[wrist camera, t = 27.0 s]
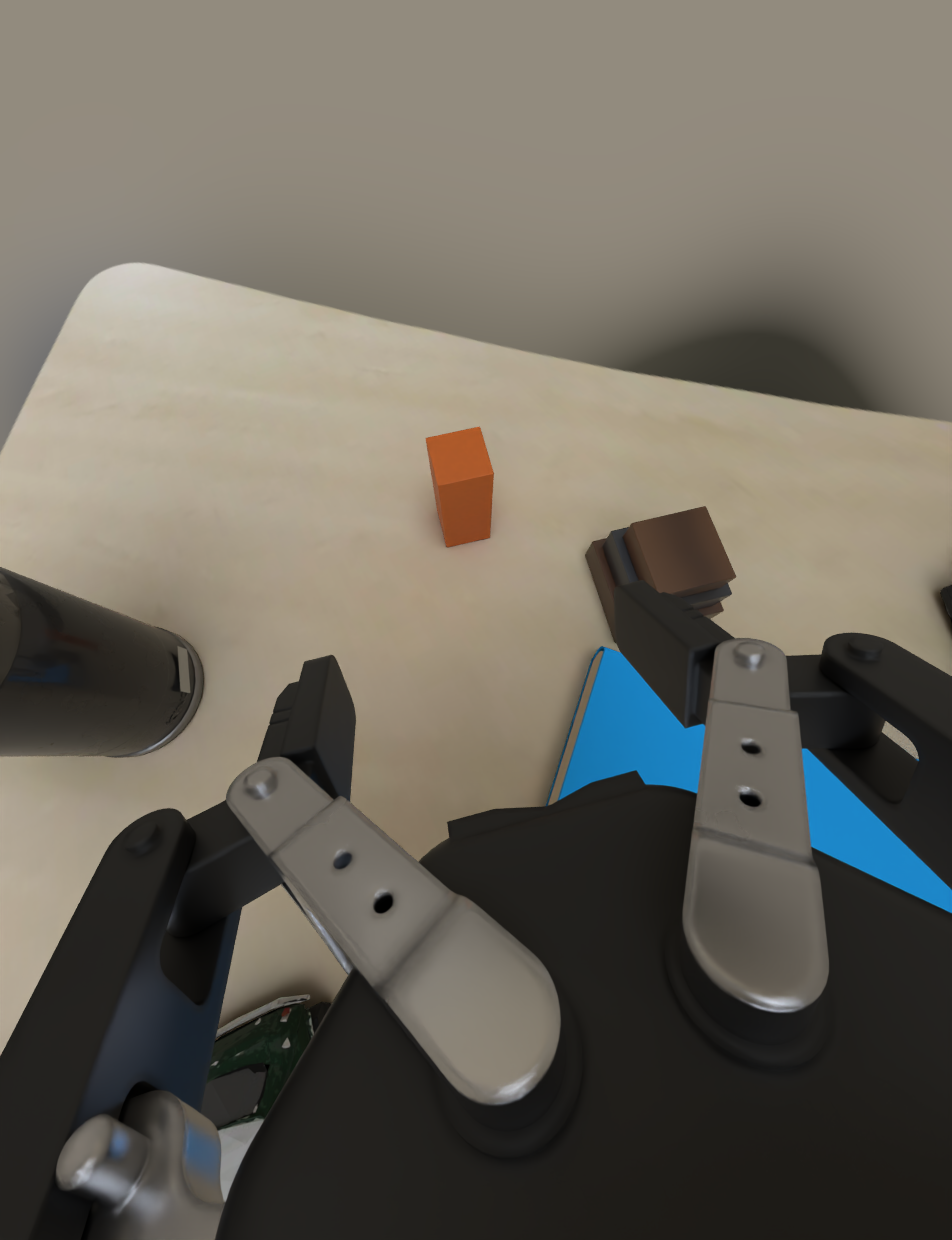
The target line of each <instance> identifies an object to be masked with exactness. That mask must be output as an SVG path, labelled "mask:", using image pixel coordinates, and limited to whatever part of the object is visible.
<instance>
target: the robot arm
mask: <svg viewBox="0 0 952 1240" xmlns="http://www.w3.org/2000/svg"><path fill="white" fill-rule="evenodd" d="M614 624H615V638H616V642H617V645H618V648H619V650H620V652H621V653H622V654H623V656H624V657H625V658H626V659H627V660H628V662H629V663H630V664H631V665H632V666H633V667H634V669H635V670H636V671H637V672H638V673H639V675H640V676H641V677H642V678H643V679H644V680H645V682H646V683H647V684H648V685H649V686H650V687H651V689H652V690H653V691H654V692H655V693H656V695H657V696H658V697H659V698H660V699H661V700H662V702H663V703H664V704H665V705H666V706H667V708H668V709H669V710H670V711H671V712H672V713H673V715H674V716H675V717H676V718H677V719H678V721H679V722H680V723H681V724H682V725H683V726H684V728H689V727H693V726H696V725H700V724H704V725H705V734H704V742H703V750H702V758H701V767H700V775H699V783H698V791H697V793H695V792H692V791H689V790H685V789H681V788H677V787H672V786H666V785H654V784H645V783H644V781H643V780H642V778H641V777H640V775H639V773H638V772H637V770H635V771H631V772H627V773H624V774H620V775H617V776H613V777H609V778H606V779H602V780H598V781H595V782H591V783H589V784H587V785H586V786H584V787H582V788H580V789H578V790H576V791H575V792H573V793H571V794H569V795H567V796H566V797H564V798H562V799H560V800H558V801H557V802H555V803H553V804H551V805H549V806H544V807H527V808H504V809H493V810H489V811H485V812H482V813H478V814H474V815H471V816H467V817H463V818H460V819H456V820H452V821H449V822H447V824H448V831H449V838H448V839H447V840H445V841H443V842H441V843H440V844H439V845H437V846H436V847H434V848H433V849H431V850H430V851H429V852H428V853H427V854H426V855H425V856H423V857H422V858H421V859H420V860H419V862H417V861H416V860H415V859H414V858H413V857H412V856H411V855H409V854H408V853H407V852H406V851H405V850H404V849H403V848H401V847H400V846H399V845H398V844H397V843H396V842H395V841H394V840H392V839H391V838H390V837H389V836H388V835H387V834H386V833H384V832H383V831H382V830H381V829H380V828H379V827H378V826H376V825H375V824H374V823H373V822H372V821H371V820H370V819H368V818H367V817H366V816H365V815H364V814H363V813H362V812H360V811H359V810H358V809H357V808H356V807H355V806H354V805H353V804H351V803H350V793H351V779H352V766H353V752H354V739H355V725H356V715H355V708H354V704H353V701H352V698H351V695H350V693H349V690H348V688H347V685H346V683H345V680H344V677H343V675H342V672H341V670H340V667H339V665H338V662H337V660H336V658H335V657H334V656H333V655H329V656H325V657H321V658H317V659H313V660H309V661H305V662H304V664H303V668H302V672H301V675H300V679H299V682H294V683H290V684H288V686H287V687H286V688H285V689H284V690H283V692H282V693H281V694H280V695H279V696H278V698H277V700H276V704H275V707H274V710H273V714H272V716H271V719H270V722H269V723H270V725H269V726H268V729H267V732H266V735H265V738H264V741H263V744H262V747H261V751H260V754H259V757H258V760H257V763H255V764H253V765H251V766H250V767H248V768H247V769H245V770H244V771H243V772H242V773H241V774H239V775H238V776H237V777H236V779H235V780H234V781H233V782H232V784H231V785H230V787H229V789H228V791H227V794H226V800H225V801H223V802H221V803H220V804H218V805H216V806H214V807H212V808H210V809H208V810H206V811H204V812H202V813H200V814H198V815H196V816H194V817H192V818H190V819H188V820H186V819H185V818H184V816H183V815H182V814H181V812H179V811H178V810H176V809H170V808H167V809H161V810H157V811H154V812H151V813H149V814H147V815H145V816H143V817H141V818H139V819H137V820H136V821H135V822H133V823H132V824H130V825H129V826H128V827H126V828H125V829H124V830H123V831H122V832H121V833H120V834H119V835H118V836H117V837H116V838H115V839H114V840H113V841H112V843H111V844H110V845H109V847H108V849H107V850H106V852H105V854H104V856H103V858H102V860H101V862H100V864H99V866H98V867H97V869H96V871H95V873H94V875H93V877H92V879H91V881H90V883H89V885H88V887H87V889H86V891H85V893H84V895H83V897H82V899H81V901H80V903H79V904H78V906H77V908H76V910H75V912H74V914H73V916H72V918H71V920H70V922H69V924H68V926H67V928H66V930H65V932H64V934H63V936H62V938H61V939H60V941H59V943H58V945H57V947H56V949H55V951H54V953H53V955H52V957H51V959H50V961H49V963H48V965H47V967H46V969H45V971H44V973H43V975H42V976H41V978H40V980H39V982H38V984H37V986H36V988H35V990H34V992H33V994H32V996H31V998H30V1000H29V1002H28V1004H27V1006H26V1008H25V1010H24V1011H23V1013H22V1015H21V1017H20V1019H19V1021H18V1023H17V1025H16V1027H15V1029H14V1031H13V1033H12V1035H11V1037H10V1039H9V1041H8V1043H7V1045H6V1047H5V1048H4V1050H3V1052H2V1054H1V1056H0V1240H952V913H951V912H948V911H946V910H944V909H942V908H940V907H938V906H936V905H934V904H931V903H929V902H927V901H925V900H923V899H921V898H919V897H917V896H915V895H912V894H910V893H908V892H906V891H904V890H902V889H900V888H898V887H895V886H893V885H891V884H889V883H887V882H885V881H883V880H881V879H879V878H876V877H874V876H872V875H870V874H868V873H866V872H864V871H862V870H860V869H857V868H855V867H853V866H851V865H849V864H847V863H845V862H843V861H840V860H838V859H836V858H834V857H832V856H830V855H828V854H826V853H824V852H821V851H819V850H817V849H815V848H813V847H811V841H810V830H809V820H808V809H807V799H806V789H805V778H804V768H803V758H802V749H808V750H809V751H810V752H811V753H812V754H813V755H814V756H815V757H816V758H817V759H818V760H819V761H820V762H821V763H822V764H823V765H824V766H825V767H826V768H827V769H828V770H829V771H830V772H831V773H833V774H834V775H835V776H836V777H837V778H838V779H839V780H840V781H841V782H842V783H843V784H844V785H845V786H846V787H847V788H848V789H849V790H850V791H851V792H852V793H853V794H854V795H855V796H856V797H857V798H858V799H859V800H860V801H861V802H862V803H863V804H864V805H865V806H866V807H867V808H868V809H869V810H870V811H871V812H872V813H873V814H874V815H875V816H877V817H878V818H879V819H880V820H881V821H882V822H883V823H884V824H885V825H886V826H887V827H888V828H889V829H890V830H891V831H892V832H893V833H894V834H895V835H896V836H897V837H898V838H899V839H900V840H901V841H902V842H903V843H904V844H905V845H906V846H907V847H908V848H909V849H910V850H911V851H912V852H913V853H914V854H915V855H916V856H917V857H918V858H920V859H921V860H922V861H923V862H924V863H925V864H926V865H927V866H928V867H929V868H930V869H931V870H932V871H933V872H934V873H935V874H936V875H937V876H938V877H939V878H940V879H941V880H942V881H943V882H944V883H945V884H946V885H947V886H948V887H949V888H950V889H951V890H952V676H950V675H948V674H947V673H945V672H943V671H941V670H940V669H938V668H936V667H934V666H933V665H931V664H929V663H928V662H926V661H924V660H922V659H921V658H919V657H917V656H916V655H914V654H912V653H910V652H909V651H907V650H905V649H903V648H902V647H900V646H898V645H897V644H895V643H893V642H891V641H889V640H886V639H884V638H881V637H877V636H873V635H869V634H862V633H842V634H837V635H833V636H831V637H829V638H828V639H826V641H825V642H824V646H823V650H822V654H821V655H799V656H785V654H784V653H783V652H782V651H781V650H780V649H779V648H778V647H776V646H774V645H773V644H770V643H768V642H765V641H762V640H757V639H751V638H736V639H735V638H734V637H732V636H731V635H730V634H729V633H727V632H726V631H725V630H723V629H722V628H721V627H719V626H718V625H717V624H715V623H714V622H713V621H711V620H710V619H709V618H707V617H706V616H705V617H704V616H703V614H702V613H701V612H699V611H698V610H697V609H694V607H693V606H692V605H690V604H689V603H688V602H686V601H685V600H684V599H682V598H680V597H677V596H675V595H672V594H669V593H666V592H662V593H659V592H658V591H657V590H655V589H654V588H653V587H652V586H650V585H649V584H648V583H647V582H645V581H644V580H639V581H635V582H631V583H627V584H623V585H619V586H616V587H615V589H614ZM202 689H203V671H202V666H201V663H200V660H199V658H198V655H197V654H196V652H195V650H194V649H193V648H192V646H191V645H190V644H189V643H188V642H187V641H186V640H184V639H183V638H182V637H180V636H178V635H177V634H175V633H172V632H170V631H167V630H164V629H162V628H158V627H153V626H150V625H148V624H145V623H143V622H140V621H138V620H136V619H133V618H130V617H128V616H125V615H123V614H120V613H118V612H115V611H112V610H110V609H107V608H105V607H102V606H100V605H97V604H94V603H92V602H89V601H87V600H84V599H82V598H79V597H76V596H74V595H71V594H69V593H66V592H64V591H61V590H58V589H56V588H53V587H51V586H48V585H46V584H43V583H40V582H38V581H35V580H33V579H30V578H28V577H25V576H22V575H20V574H17V573H15V572H12V571H9V570H7V569H4V568H2V567H0V757H13V756H107V757H134V756H140V755H144V754H147V753H150V752H152V751H155V750H157V749H159V748H161V747H162V746H164V745H166V744H167V743H169V742H170V741H171V740H173V739H174V738H175V737H176V736H177V735H178V734H179V733H180V732H181V731H182V730H183V729H184V728H185V727H186V725H187V724H188V723H189V722H190V720H191V718H192V717H193V715H194V713H195V711H196V709H197V707H198V704H199V702H200V699H201V695H202ZM885 721H887V722H888V723H890V724H891V725H892V726H894V727H895V728H896V729H898V730H899V731H900V732H902V733H903V734H904V735H905V736H907V737H908V738H909V739H910V740H911V741H912V743H913V744H914V746H915V747H916V750H917V752H918V756H919V761H918V760H917V759H915V758H914V757H913V756H911V755H910V754H909V753H908V752H906V751H905V750H904V749H903V748H901V747H900V746H899V745H897V744H896V743H895V742H894V741H892V740H891V739H890V738H889V737H887V736H886V735H885V734H883V733H882V729H883V726H884V723H885ZM280 884H281V885H282V887H283V888H284V889H285V891H286V892H287V893H288V895H289V896H290V897H291V899H292V900H293V901H294V903H295V904H296V905H297V906H298V908H299V909H300V910H301V912H302V913H303V914H304V916H305V917H306V918H307V920H308V921H309V922H310V924H311V925H312V926H313V928H314V929H315V930H316V932H317V933H318V934H319V935H320V937H321V938H322V939H323V941H324V942H325V944H326V945H327V946H328V948H329V949H330V951H331V952H332V953H333V955H334V956H335V958H336V959H337V961H338V962H339V963H340V965H341V966H342V967H343V969H344V970H345V972H346V973H347V974H348V977H347V978H346V980H345V982H344V983H343V985H342V987H341V989H340V990H339V992H338V994H337V995H336V997H335V999H334V1001H333V1002H332V1004H331V1006H330V1008H329V1009H328V1011H327V1013H326V1014H325V1016H324V1018H323V1020H322V1021H321V1023H320V1025H319V1026H318V1028H317V1030H316V1032H315V1033H314V1035H313V1037H312V1038H311V1040H310V1042H309V1044H308V1045H307V1047H306V1049H305V1051H304V1052H303V1054H302V1056H301V1057H300V1059H299V1061H298V1063H297V1064H296V1066H295V1068H294V1069H293V1071H292V1073H291V1075H290V1076H289V1078H288V1080H287V1082H286V1083H285V1085H284V1087H283V1088H282V1090H281V1092H280V1094H279V1095H278V1097H277V1099H276V1100H275V1102H274V1104H273V1106H272V1107H271V1109H270V1111H269V1113H268V1114H267V1116H266V1118H265V1119H264V1121H263V1123H262V1125H261V1126H260V1128H259V1130H258V1131H257V1133H256V1135H255V1137H254V1138H253V1140H252V1142H251V1144H250V1146H249V1148H248V1149H247V1151H246V1153H245V1155H244V1157H243V1159H242V1161H241V1164H240V1166H239V1168H238V1170H237V1173H236V1175H235V1177H234V1180H233V1182H232V1185H231V1187H230V1190H229V1193H228V1196H227V1199H226V1202H225V1201H224V1199H223V1194H222V1190H221V1181H220V1170H221V1153H222V1151H221V1140H220V1136H219V1133H218V1130H217V1128H216V1126H215V1125H214V1124H213V1123H212V1121H211V1120H209V1119H208V1118H206V1117H205V1116H204V1115H202V1114H201V1108H202V1103H203V1098H204V1093H205V1088H206V1083H207V1078H208V1073H209V1068H210V1063H211V1058H212V1053H213V1048H214V1043H215V1039H216V1034H217V1029H218V1024H219V1019H220V1014H221V1009H222V1004H223V999H224V994H225V989H226V984H227V979H228V974H229V969H230V964H231V960H232V955H233V950H234V945H235V940H236V935H237V930H238V925H239V920H240V915H241V910H242V907H243V906H244V905H246V904H248V903H250V902H251V901H253V900H255V899H256V898H258V897H260V896H262V895H263V894H265V893H267V892H268V891H270V890H272V889H273V888H275V887H277V886H279V885H280Z"/></svg>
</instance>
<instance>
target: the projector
mask: <svg viewBox="0 0 952 1240" xmlns="http://www.w3.org/2000/svg"><path fill="white" fill-rule="evenodd" d="M940 594H941V596H942V598H943V601H944V603H945V605H946V610H947V612H948V614H949V616H950V617H951V619H952V585H950V586H948V587H945V588H943V589H942V590H941V593H940Z"/></svg>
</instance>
